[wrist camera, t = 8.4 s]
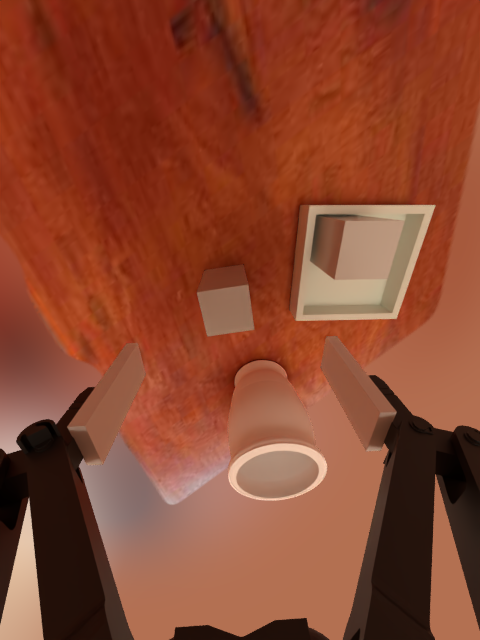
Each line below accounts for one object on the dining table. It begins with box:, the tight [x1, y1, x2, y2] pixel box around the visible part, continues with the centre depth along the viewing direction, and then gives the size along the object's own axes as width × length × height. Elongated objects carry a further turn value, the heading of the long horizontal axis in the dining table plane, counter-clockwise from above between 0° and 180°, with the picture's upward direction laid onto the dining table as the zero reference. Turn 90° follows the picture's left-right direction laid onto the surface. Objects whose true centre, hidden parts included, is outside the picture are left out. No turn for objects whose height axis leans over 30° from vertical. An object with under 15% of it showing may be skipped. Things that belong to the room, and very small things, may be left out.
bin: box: [289, 205, 435, 321], centre depth 28 cm, size 13×13×4 cm
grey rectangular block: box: [197, 264, 254, 336], centre depth 27 cm, size 5×5×8 cm
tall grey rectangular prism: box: [310, 215, 404, 280], centre depth 24 cm, size 5×5×8 cm
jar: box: [228, 360, 327, 500], centre depth 31 cm, size 11×10×15 cm
